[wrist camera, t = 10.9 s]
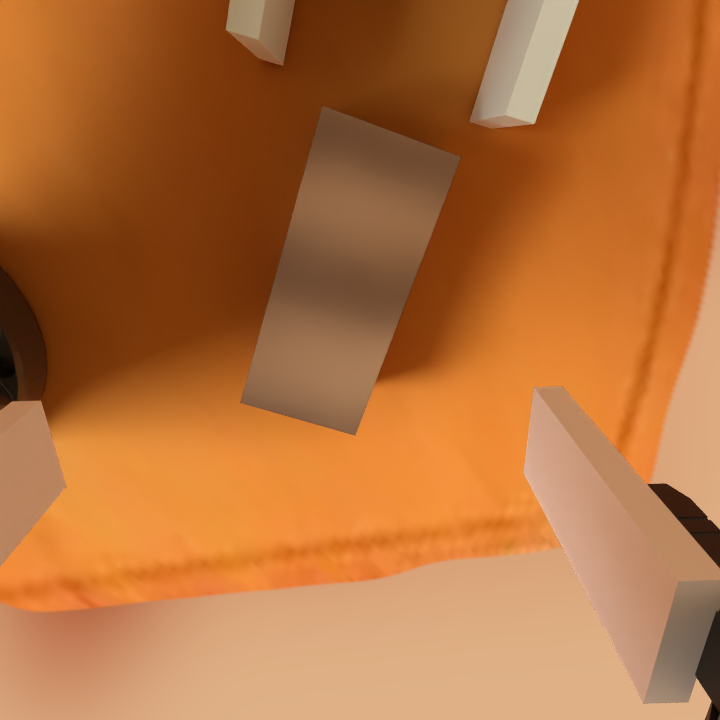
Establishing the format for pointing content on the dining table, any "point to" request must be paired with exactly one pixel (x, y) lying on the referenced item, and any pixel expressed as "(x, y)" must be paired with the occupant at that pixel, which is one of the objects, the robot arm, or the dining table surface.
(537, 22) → the socket block
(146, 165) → the dining table surface
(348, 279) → the walnut bar
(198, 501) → the dining table surface
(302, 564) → the dining table surface
